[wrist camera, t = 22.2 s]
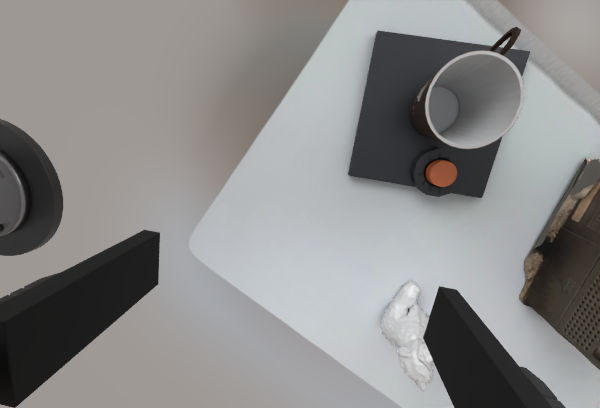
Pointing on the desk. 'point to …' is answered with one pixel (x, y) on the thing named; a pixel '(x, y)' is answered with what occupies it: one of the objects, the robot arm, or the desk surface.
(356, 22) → the desk surface
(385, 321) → the sitting furry creature
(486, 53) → the coffee mug
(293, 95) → the desk surface
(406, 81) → the scale
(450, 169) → the button
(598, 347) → the radio
